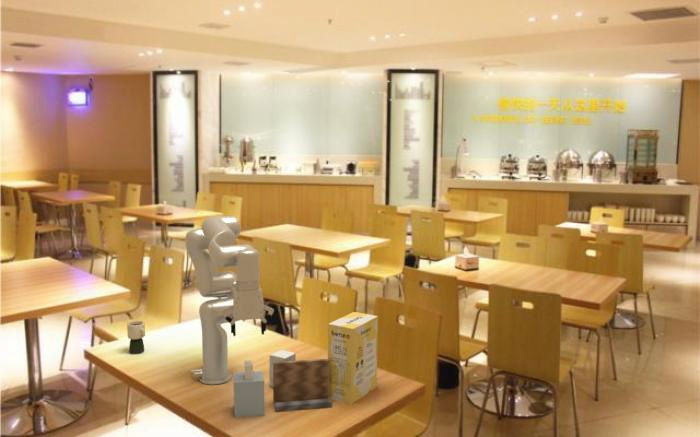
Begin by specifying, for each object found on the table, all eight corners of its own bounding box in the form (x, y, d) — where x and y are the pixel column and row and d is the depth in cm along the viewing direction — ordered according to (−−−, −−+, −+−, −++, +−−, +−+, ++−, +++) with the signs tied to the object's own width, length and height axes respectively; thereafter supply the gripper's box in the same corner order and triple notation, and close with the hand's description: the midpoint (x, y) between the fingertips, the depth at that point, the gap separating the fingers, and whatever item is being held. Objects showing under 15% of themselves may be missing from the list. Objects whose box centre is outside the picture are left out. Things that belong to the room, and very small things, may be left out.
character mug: (151, 352, 279) (151, 323, 277) (138, 356, 273) (137, 327, 271) (135, 347, 284) (134, 318, 282) (121, 351, 278) (120, 322, 276)
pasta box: (352, 381, 251) (354, 311, 247) (376, 386, 245) (378, 316, 241) (327, 397, 235) (328, 323, 231) (352, 404, 230) (353, 328, 226)
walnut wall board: (275, 411, 223) (275, 370, 221) (273, 402, 230) (273, 362, 228) (332, 407, 227) (332, 366, 225) (327, 397, 235) (328, 358, 233)
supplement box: (284, 390, 241) (284, 358, 239) (268, 386, 244) (268, 354, 243) (296, 384, 247) (296, 352, 245) (280, 380, 251) (280, 348, 249)
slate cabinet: (234, 417, 218) (234, 368, 215) (233, 406, 227) (233, 359, 224) (264, 415, 220) (264, 366, 217) (262, 404, 229) (262, 357, 226)
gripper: (222, 289, 211) (223, 339, 214) (274, 286, 215) (275, 336, 217) (221, 283, 218) (222, 332, 221) (272, 281, 222) (272, 329, 225)
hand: (248, 334), depth 219 cm, fingers open, 9 cm apart
